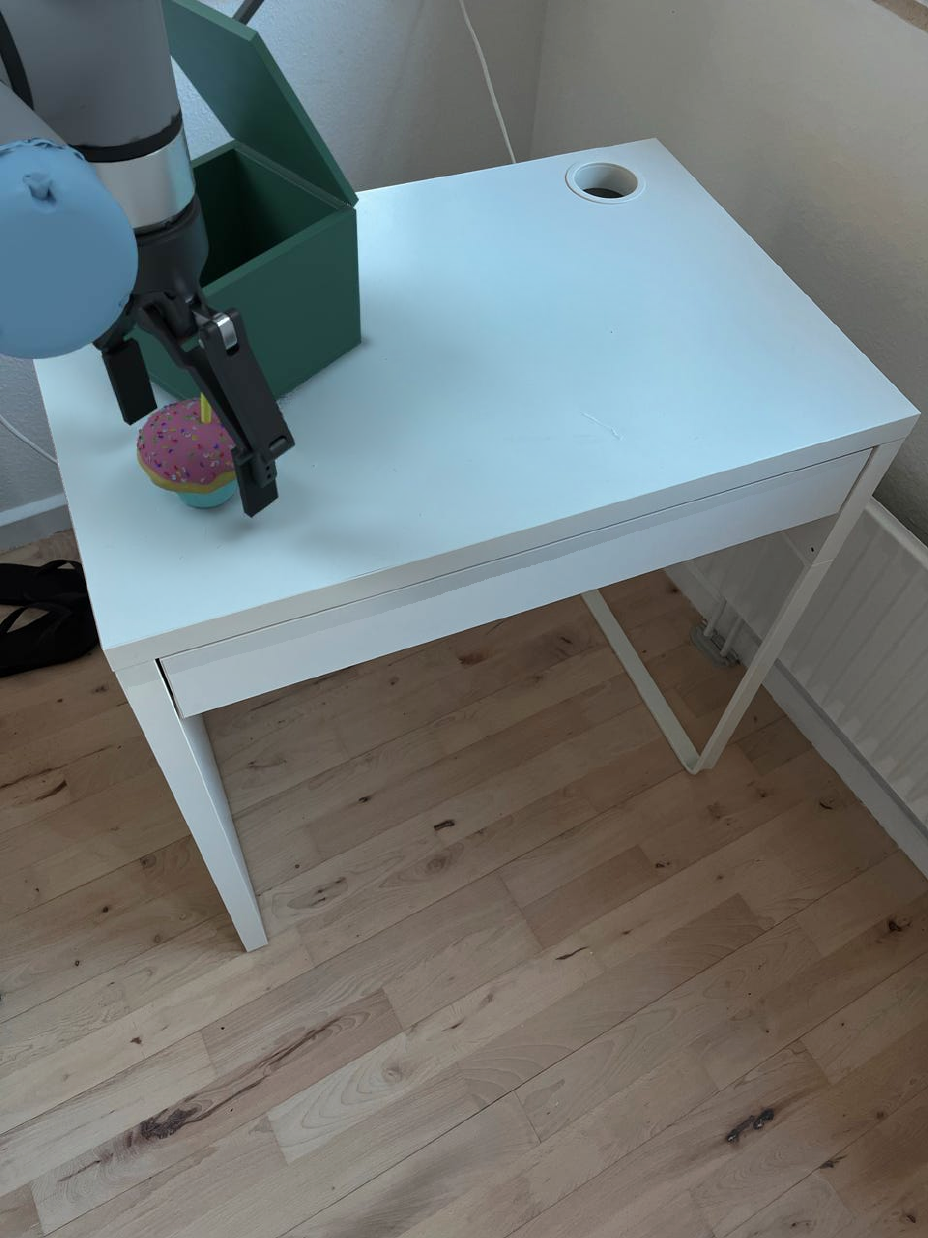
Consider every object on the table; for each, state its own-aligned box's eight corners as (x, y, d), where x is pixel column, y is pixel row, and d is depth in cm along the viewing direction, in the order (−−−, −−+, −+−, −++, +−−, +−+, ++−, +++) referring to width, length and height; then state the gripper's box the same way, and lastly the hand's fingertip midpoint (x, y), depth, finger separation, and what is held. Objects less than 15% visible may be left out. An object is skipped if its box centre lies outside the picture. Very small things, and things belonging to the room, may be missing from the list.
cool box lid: (250, 41, 57) (332, -72, 57) (103, -36, 62) (179, -140, 62) (353, 207, 73) (418, 119, 73) (231, 137, 78) (291, 53, 78)
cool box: (225, 435, 77) (198, 301, 66) (116, 355, 81) (73, 217, 71) (361, 342, 84) (356, 209, 73) (254, 273, 89) (234, 138, 78)
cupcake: (250, 438, 77) (228, 317, 67) (271, 515, 72) (251, 398, 62) (142, 458, 75) (104, 336, 65) (157, 538, 70) (119, 421, 60)
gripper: (334, 264, 51) (353, 516, 69) (51, 92, 59) (132, 356, 77) (230, 330, 48) (277, 577, 65) (-56, 137, 56) (55, 403, 73)
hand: (199, 458), depth 71 cm, fingers open, 13 cm apart
